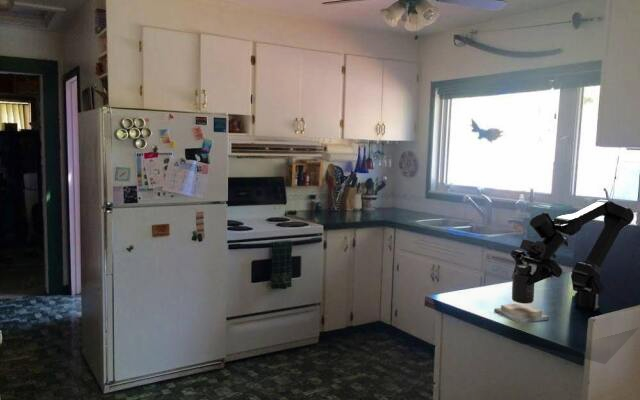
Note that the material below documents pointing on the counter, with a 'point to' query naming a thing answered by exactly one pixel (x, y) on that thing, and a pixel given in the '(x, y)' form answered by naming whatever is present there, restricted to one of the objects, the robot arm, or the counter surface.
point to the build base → (520, 320)
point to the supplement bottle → (522, 285)
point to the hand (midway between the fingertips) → (520, 281)
